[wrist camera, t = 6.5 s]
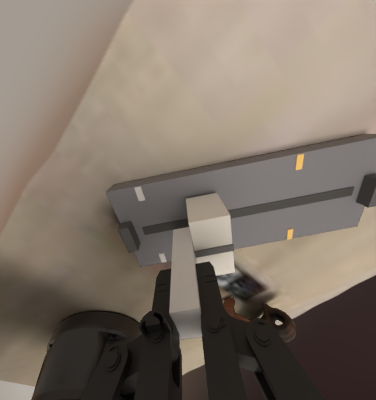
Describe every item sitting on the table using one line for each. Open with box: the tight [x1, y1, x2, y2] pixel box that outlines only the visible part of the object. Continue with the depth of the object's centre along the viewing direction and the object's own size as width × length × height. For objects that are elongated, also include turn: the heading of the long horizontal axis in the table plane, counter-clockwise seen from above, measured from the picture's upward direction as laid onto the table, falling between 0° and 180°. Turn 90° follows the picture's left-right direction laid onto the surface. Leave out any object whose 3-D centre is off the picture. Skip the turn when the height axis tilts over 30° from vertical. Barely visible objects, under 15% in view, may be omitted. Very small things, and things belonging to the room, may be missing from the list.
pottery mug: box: [223, 298, 296, 343], centre depth 25 cm, size 12×10×8 cm
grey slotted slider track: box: [106, 134, 376, 267], centre depth 17 cm, size 26×10×3 cm, turn 101°
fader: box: [186, 193, 235, 276], centre depth 14 cm, size 3×6×4 cm, turn 11°
